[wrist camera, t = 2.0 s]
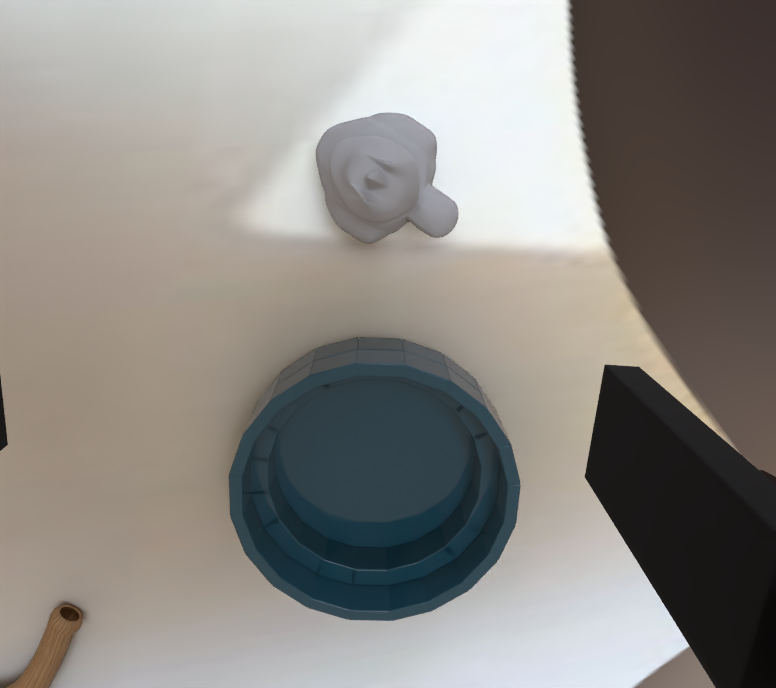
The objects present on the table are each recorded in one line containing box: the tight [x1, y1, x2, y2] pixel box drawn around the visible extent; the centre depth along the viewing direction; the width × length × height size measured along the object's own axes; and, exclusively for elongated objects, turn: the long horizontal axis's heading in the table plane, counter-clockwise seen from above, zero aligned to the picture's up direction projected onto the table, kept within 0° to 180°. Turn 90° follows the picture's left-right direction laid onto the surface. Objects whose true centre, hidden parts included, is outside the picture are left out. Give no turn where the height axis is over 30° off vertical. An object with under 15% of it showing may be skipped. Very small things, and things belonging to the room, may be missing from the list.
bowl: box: [229, 337, 521, 621], centre depth 32 cm, size 13×13×4 cm
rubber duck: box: [316, 113, 458, 244], centre depth 26 cm, size 5×7×8 cm
